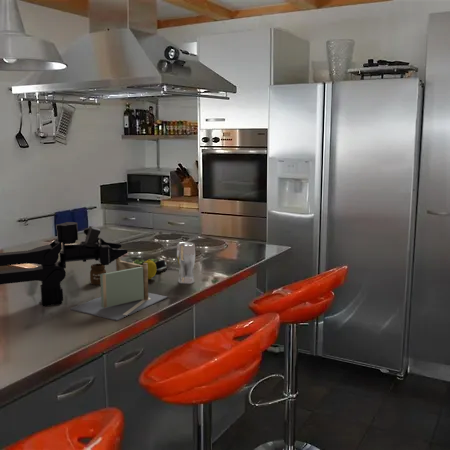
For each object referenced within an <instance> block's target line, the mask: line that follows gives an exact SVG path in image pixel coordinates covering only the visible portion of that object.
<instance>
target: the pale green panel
mask: <svg viewBox="0 0 450 450" xmlns="http://www.w3.org/2000/svg"><path fill="white" fill-rule="evenodd" d="M100 282H101V285H100V297H101V306H102V308H106V307H110V306H114V305H119V304H123V303H127V302H132V301H136V300H140V299H144V284H143V267H137V268H131V269H126V270H120V271H110V272H106V273H104V274H100Z"/></svg>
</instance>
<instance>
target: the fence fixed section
mask: <svg viewBox="0 0 450 450" xmlns="http://www.w3.org/2000/svg"><path fill="white" fill-rule="evenodd" d="M130 262H131V261H130ZM130 262H129V261H124V260H122V259H121V257H119V258H117V259H116V260H115V267H116V269H115V270H116V271H120V270H126V269H131V268H137V267H143V284H144V300H148V293H149V279H148V263H143V265H139V264H135V263H130Z"/></svg>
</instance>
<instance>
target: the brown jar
mask: <svg viewBox="0 0 450 450" xmlns="http://www.w3.org/2000/svg"><path fill="white" fill-rule="evenodd" d="M89 263H91V264H90V270H89V271H90V272H89V279H90V281H89V282H90V284H91V285H94V286H101V282H100V274H104V273H107V270H106V269H105V268H106V265H102V264H101V263H94V261H93V260H89Z"/></svg>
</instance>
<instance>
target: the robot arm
mask: <svg viewBox="0 0 450 450" xmlns="http://www.w3.org/2000/svg"><path fill="white" fill-rule="evenodd" d="M83 229H84V230H83V234H84V235H86V236H85V239H84V241H81V242H80V243H77V241H78V240H79V232H78V222H76V221H75V222H74V221H66V222H63V223H62V222H61V223H59V224H57V223H56V224H55V230H56V236H57V237H56V239H54V240H53V241H52V242H50V244H45V245H41V246H37V247H34V248H32V249H28V250H19V251H18V250H17V251H10V252H9V251H8V252H7V251H6V252H0V267H4V266H15V265H24V264H25V265H26V264H30V265H37V266H36V267H28V268H27V267H26V268H19V269H18V268H17V269H8V270H0V285H5V284H16V283H25V282H27V283H28V282H36V281H39V282H40V285H39V286H40V287H39V288H40V304H41V307H49V306H56V305H57V306H59V305H63V301H64V290H63V287H62V286H61V282H63V281H64V279H66V276H67V275H66V274H67V273H66V270H65V269H66V268H67V263H70V262H81V261H82V262H83V263H87V261H93V260H94V262H97V261H98V262H99V264H102V265H105V266H109V265H110V264H112V262H114V261H116V259H117V258H119V257H120V258H121V257H122V256H124V255H127V253H128V251H129V250H128V249H123V248H122V246H123V245H122V244H121V243H115V242H108V241H105V240H104V239H103V238H102V237H99V235H101V229H100V228H98V227H96V226H90V225H89V226H88V227H87V228H83Z"/></svg>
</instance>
